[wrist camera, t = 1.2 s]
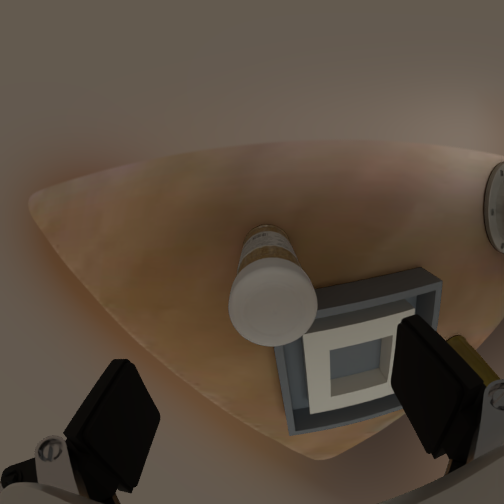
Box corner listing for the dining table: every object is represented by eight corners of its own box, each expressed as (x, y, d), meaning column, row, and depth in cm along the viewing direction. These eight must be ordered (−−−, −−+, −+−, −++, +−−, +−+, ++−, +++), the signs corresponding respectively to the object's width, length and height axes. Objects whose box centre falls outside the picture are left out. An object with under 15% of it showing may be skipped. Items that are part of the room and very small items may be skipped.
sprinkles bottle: (251, 274, 27) (243, 357, 14) (237, 230, 26) (213, 283, 13) (296, 261, 26) (326, 336, 13) (283, 217, 25) (308, 256, 12)
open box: (421, 267, 26) (442, 280, 22) (407, 382, 31) (419, 402, 26) (267, 297, 27) (268, 318, 23) (287, 411, 32) (289, 435, 28)
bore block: (402, 296, 27) (414, 308, 24) (394, 376, 29) (402, 390, 27) (298, 319, 27) (302, 334, 24) (307, 397, 30) (310, 414, 27)
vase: (448, 371, 30) (492, 430, 17) (426, 366, 30) (473, 433, 16) (470, 339, 29) (523, 392, 15) (450, 331, 28) (508, 391, 15)
